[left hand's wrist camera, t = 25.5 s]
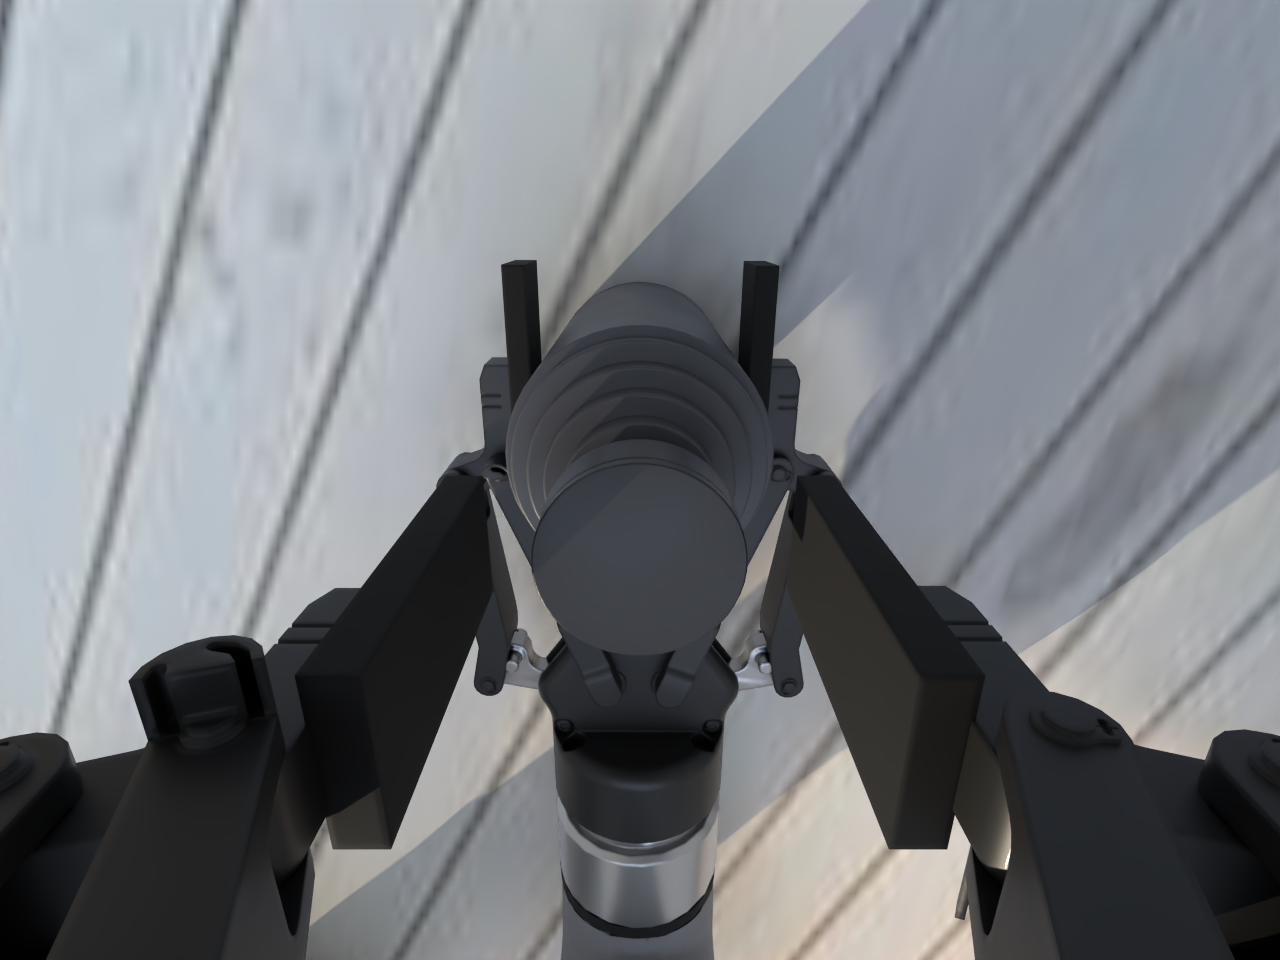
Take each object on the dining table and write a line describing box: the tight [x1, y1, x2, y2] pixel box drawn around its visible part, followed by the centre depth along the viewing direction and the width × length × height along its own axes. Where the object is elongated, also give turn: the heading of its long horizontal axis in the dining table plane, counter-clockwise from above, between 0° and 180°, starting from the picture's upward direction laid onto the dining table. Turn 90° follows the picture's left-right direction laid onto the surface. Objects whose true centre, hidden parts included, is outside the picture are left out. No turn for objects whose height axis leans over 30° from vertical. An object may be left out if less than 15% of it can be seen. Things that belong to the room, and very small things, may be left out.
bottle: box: [506, 282, 774, 532], centre depth 22 cm, size 7×7×18 cm
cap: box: [531, 439, 748, 655], centre depth 14 cm, size 4×4×2 cm
